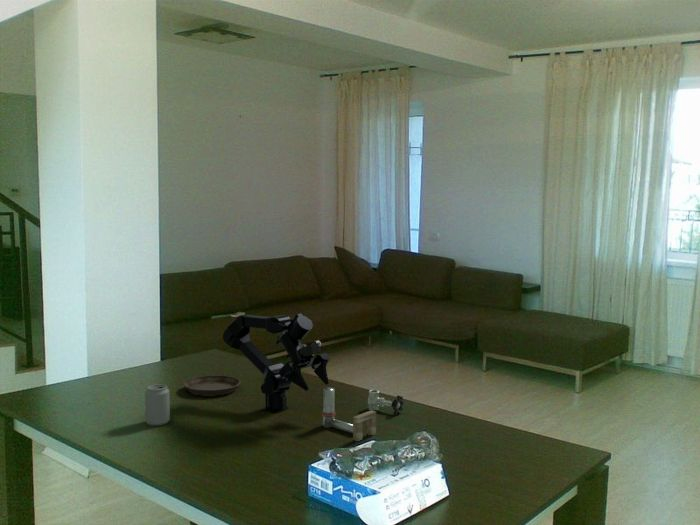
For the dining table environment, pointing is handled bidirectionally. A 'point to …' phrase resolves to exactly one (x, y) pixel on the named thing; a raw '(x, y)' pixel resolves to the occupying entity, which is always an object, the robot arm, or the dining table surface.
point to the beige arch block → (358, 424)
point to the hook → (332, 411)
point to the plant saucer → (211, 385)
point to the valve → (384, 402)
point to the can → (157, 405)
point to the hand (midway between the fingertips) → (317, 387)
